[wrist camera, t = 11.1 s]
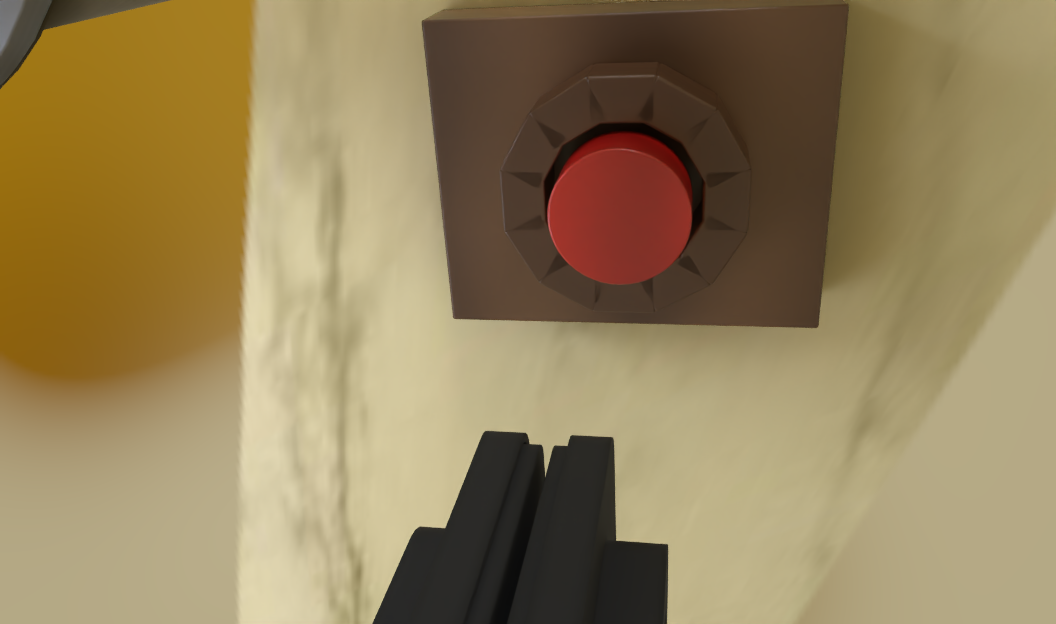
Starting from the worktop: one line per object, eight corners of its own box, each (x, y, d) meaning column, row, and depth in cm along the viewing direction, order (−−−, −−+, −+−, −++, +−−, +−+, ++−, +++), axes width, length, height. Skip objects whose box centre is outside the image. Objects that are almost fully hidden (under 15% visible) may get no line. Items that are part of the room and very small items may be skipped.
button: (559, 258, 24) (550, 284, 23) (553, 130, 23) (543, 149, 21) (691, 260, 24) (690, 287, 22) (694, 128, 22) (693, 147, 21)
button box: (469, 290, 29) (437, 346, 26) (441, 9, 26) (400, 30, 22) (810, 297, 27) (826, 358, 24) (837, -7, 24) (861, 13, 20)
